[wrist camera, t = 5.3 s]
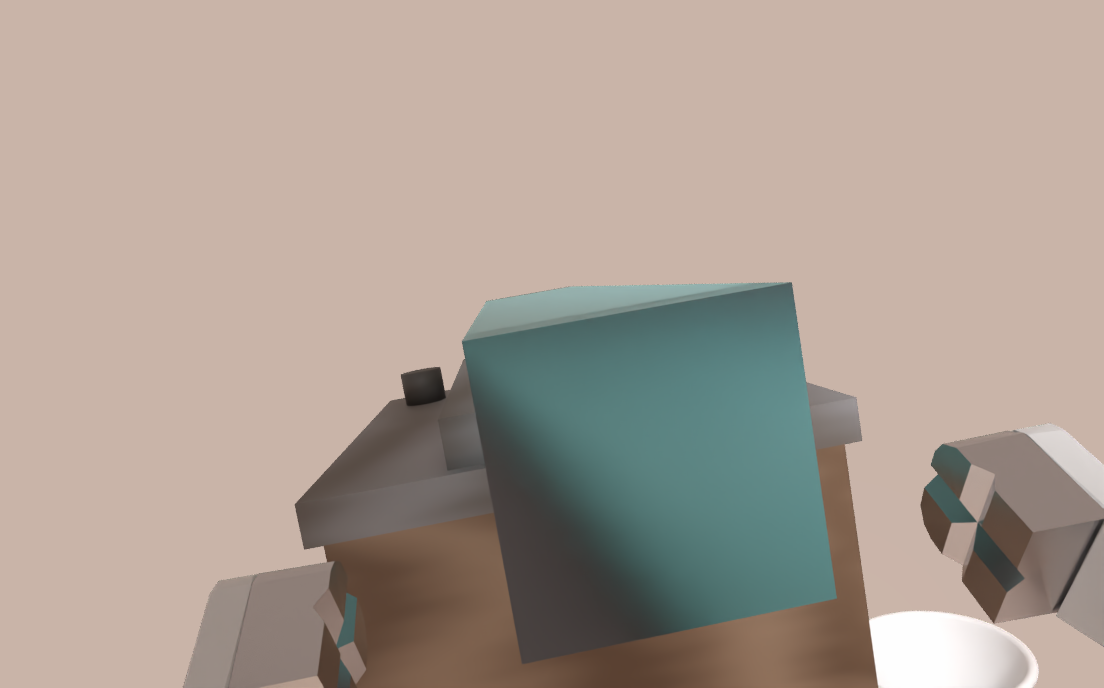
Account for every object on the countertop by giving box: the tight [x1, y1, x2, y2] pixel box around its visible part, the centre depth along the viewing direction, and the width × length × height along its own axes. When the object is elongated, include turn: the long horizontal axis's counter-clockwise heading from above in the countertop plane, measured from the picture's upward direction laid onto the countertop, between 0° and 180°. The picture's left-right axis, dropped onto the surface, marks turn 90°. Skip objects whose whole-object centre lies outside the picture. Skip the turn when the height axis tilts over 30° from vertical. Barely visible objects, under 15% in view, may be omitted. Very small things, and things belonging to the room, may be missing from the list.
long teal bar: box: [462, 282, 837, 664], centre depth 22 cm, size 4×26×4 cm, turn 5°
